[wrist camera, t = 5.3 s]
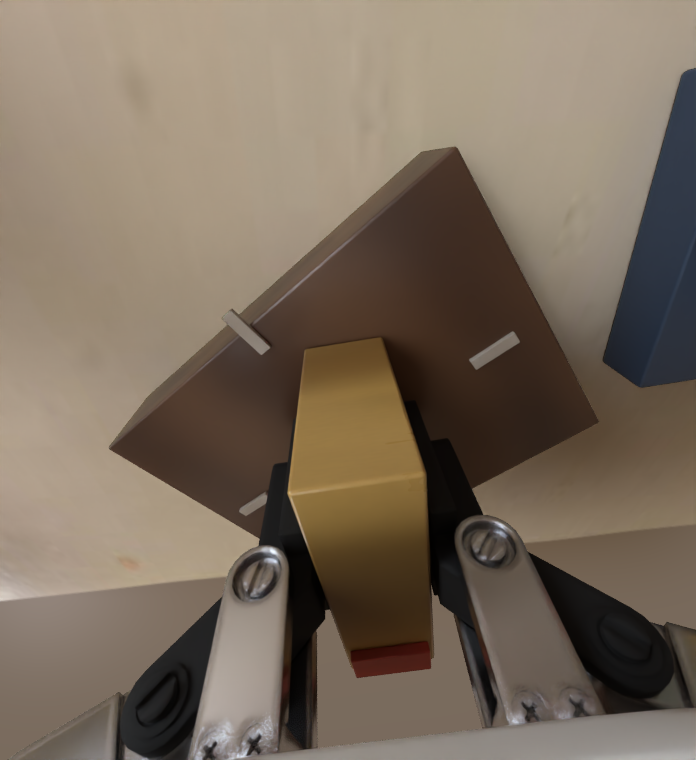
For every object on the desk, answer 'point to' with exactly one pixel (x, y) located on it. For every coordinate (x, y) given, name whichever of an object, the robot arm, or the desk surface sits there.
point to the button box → (663, 264)
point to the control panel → (366, 321)
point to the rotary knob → (364, 506)
